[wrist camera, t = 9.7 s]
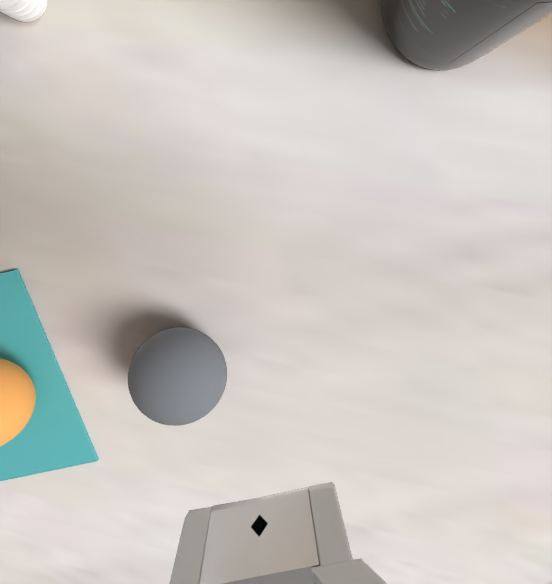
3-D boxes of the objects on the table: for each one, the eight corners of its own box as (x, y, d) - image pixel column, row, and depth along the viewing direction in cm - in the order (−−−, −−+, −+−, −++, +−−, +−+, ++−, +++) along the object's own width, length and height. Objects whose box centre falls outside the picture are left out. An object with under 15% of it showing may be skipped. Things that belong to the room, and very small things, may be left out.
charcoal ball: (260, 389, 21) (219, 357, 26) (208, 322, 19) (172, 299, 23) (186, 464, 20) (156, 415, 24) (117, 402, 17) (97, 361, 21)
